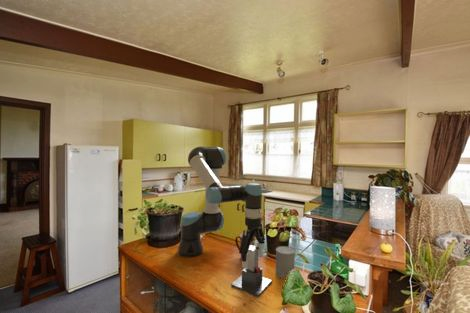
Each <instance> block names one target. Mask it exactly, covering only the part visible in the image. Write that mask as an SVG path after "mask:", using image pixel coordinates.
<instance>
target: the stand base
mask: <svg viewBox="0 0 470 313" xmlns="http://www.w3.org/2000/svg"><path fill="white" fill-rule="evenodd" d="M272 283H273V280H272V279H269V278H268V277H264V276H263V268H262V267H259V266H258V267H257V268H256V272H255V273H252V272H249V271H246V268H243V269H242V270H241V276H239V277H238V278H237V279H236V280H235V281H233V282H232V283H231V284H230V286H231V287H232V288H235V289H237V290H239V291H242V292H244V293H247V294H249V295H251V296H254V297H257V298H259V297H260V296H261V295H262V294H263V293H264V292H265V291H266V289H267V288H268V287H269V286H270V285H271V284H272Z"/></svg>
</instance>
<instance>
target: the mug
mask: <svg viewBox="0 0 470 313" xmlns="http://www.w3.org/2000/svg"><path fill="white" fill-rule="evenodd" d="M242 237H243V233H241V234H240V235H237V236H236V237H235V240H234V241H235V246H236V248H237V250H238V251H239V250H240V246H241V241H242ZM238 239H239V240H240V241H239V242H240V244H239V242H238ZM255 240H256V237H254V238H253V240H252V241H251V244H250V245H253V246H255V242H256V241H255ZM240 260H242V254H240Z"/></svg>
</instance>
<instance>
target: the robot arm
mask: <svg viewBox="0 0 470 313" xmlns="http://www.w3.org/2000/svg"><path fill="white" fill-rule="evenodd" d="M187 162H188V165H189V166H190V168H191V169H193V170H194V172H195V173H196V174H197V176H198V177H199V180H200V181H201V183H202V185H203V186H204V187H205V196H204V200H205V202H204V207H203V209H202V213H200V212H198V211H191V212H187V213H185V214H183V215H182V216H181V219H180V241H179V244H178V245H179V246H178V248H177V254H178V255H179V256H180V257H183V258H193V257H194V258H195V257H197V256H200V255H202V253H203V251H204V246H203V244H202V241H201V234H206V233H211V232H217V231H221V229H222V228H223V226H224V224H225V217H224V214H223V212H222V211H221V209H220V207H219V205H220V204H222V203H223V204H224V203H231V202H239V201H240V202H243V203H244V204H245V206H244V207H245V208H244V211H245V214H244V217H245V218H244V223H245V224H244V225H245V226H246V227H247V229H244V230H243V231H242V234H243V237H242V241H241V246H240V245H239V247H240V250H238V253H239V254H240V255H241V254H242V259H241V261H242V262H241V268H243V269H244V268H246V269H248V254H247V252H248V249H249V247H250V244H251V241H252V240H253V238H254V237H255V240H256V241H257V242H256V247H260V250H259V251H258V258H262V259H263V244H265V240H266V237H265V233H264V231H263V224H262V212H263V211H262V201H263V200H262V198H263V197H262V195H263V192H262V190H263V188H262V184H260V183H256V182H250V183H246V184H245V185H244V184H242V183H241V184H237V183H236V184H234V185H227V186H224V185H223V184H222V183H221V182H220V173H221V172H220V171H221V170H222V169H223V166H225V165H226V162H227V154H226V152H225V150H224V148H222V147H219V146H197V147H194V148H193V149H191V150H190V152H189V154H188V156H187Z"/></svg>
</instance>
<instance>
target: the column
mask: <svg viewBox="0 0 470 313" xmlns="http://www.w3.org/2000/svg"><path fill="white" fill-rule="evenodd" d="M259 250H260V247H257V245H254V246H253V245H250V247H249V249H248V252H247V254H248V269H246V271H249V272H252V273H255V272H256V268H257V267H259V257H258V251H259Z"/></svg>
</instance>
